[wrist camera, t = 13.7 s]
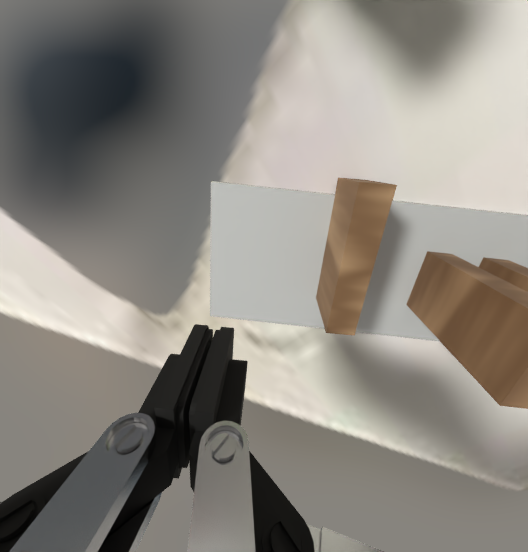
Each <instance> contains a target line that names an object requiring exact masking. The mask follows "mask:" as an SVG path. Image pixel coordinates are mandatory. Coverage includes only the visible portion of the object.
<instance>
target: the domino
mask: <svg viewBox="0 0 528 552" xmlns="http://www.w3.org/2000/svg"><path fill="white" fill-rule="evenodd" d="M396 186H397V185H393V184H387V183H381V182H375V181H369V180H359V179H347V178H338V182H337V187H336V193H335V198H334V203H333V209H332V214H331V220H330V225H329V230H328V236H327V241H326V246H325V252H324V257H323V262H322V268H321V273H320V279H319V284H318V289H317V295H316V300H317V303H318V307H319V310H320V314H321V317H322V321H323V324H324V327H325V331H326V333H334V334H345V335H355V331H356V328H357V324H358V321H359V317H360V314H361V310H362V307H363V303H364V300H365V296H366V292H367V289H368V285H369V282H370V278H371V275H372V271H373V268H374V264H375V261H376V257H377V253H378V250H379V246H380V243H381V239H382V236H383V232H384V229H385V225H386V222H387V218H388V215H389V211H390V207H391V204H392V200H393V197H394V193H395V190H396Z"/></svg>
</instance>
